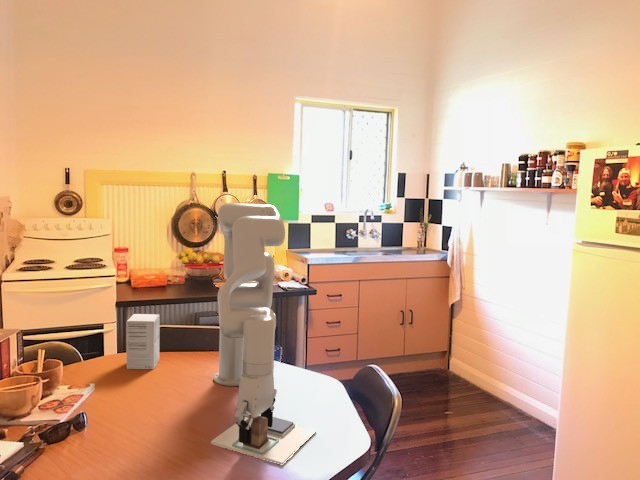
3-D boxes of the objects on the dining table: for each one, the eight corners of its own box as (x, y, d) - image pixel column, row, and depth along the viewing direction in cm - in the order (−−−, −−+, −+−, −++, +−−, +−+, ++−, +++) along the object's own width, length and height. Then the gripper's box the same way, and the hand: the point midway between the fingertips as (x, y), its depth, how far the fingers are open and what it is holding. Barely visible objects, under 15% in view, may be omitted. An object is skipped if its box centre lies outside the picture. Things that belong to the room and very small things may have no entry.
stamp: (252, 436, 126) (253, 413, 125) (268, 441, 124) (269, 417, 124) (243, 444, 122) (243, 421, 121) (259, 449, 120) (259, 425, 120)
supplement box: (133, 359, 178) (133, 313, 177) (159, 359, 179) (160, 313, 178) (125, 369, 169) (125, 320, 167) (154, 369, 170) (154, 321, 168)
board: (251, 415, 139) (251, 408, 139) (316, 432, 131) (316, 425, 131) (211, 444, 123) (211, 436, 123) (282, 466, 115) (282, 457, 115)
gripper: (263, 353, 130) (261, 416, 132) (223, 375, 115) (222, 446, 117) (288, 358, 127) (286, 423, 129) (251, 381, 112) (249, 454, 113)
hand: (256, 434), depth 123 cm, fingers open, 9 cm apart
